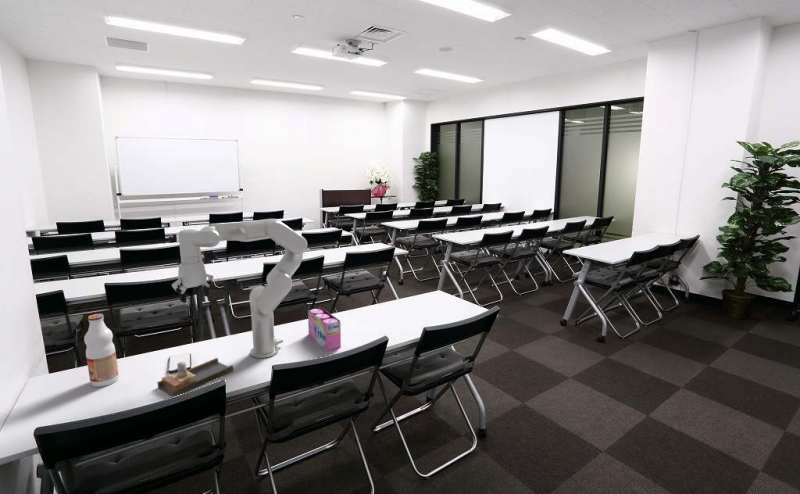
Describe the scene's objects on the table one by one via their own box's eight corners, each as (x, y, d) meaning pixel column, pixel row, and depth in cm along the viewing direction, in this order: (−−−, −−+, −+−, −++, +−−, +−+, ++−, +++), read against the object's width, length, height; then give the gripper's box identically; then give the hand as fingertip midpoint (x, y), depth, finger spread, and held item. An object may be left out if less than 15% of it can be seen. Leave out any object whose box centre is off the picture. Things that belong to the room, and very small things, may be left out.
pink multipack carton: (307, 333, 215) (306, 308, 213) (321, 330, 220) (320, 306, 217) (326, 351, 196) (325, 324, 193) (341, 347, 200) (341, 320, 198)
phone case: (169, 359, 187) (167, 375, 173) (169, 356, 187) (167, 371, 173) (191, 355, 191) (191, 370, 177) (190, 352, 191) (191, 367, 177)
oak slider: (185, 376, 169) (183, 358, 168) (196, 382, 165) (194, 363, 163) (170, 382, 165) (168, 363, 163) (181, 388, 160) (179, 369, 158)
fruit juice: (110, 387, 163) (101, 320, 157) (85, 388, 162) (74, 320, 156) (123, 375, 172) (115, 311, 166) (99, 375, 171) (90, 311, 165)
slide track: (217, 363, 183) (216, 354, 182) (233, 371, 176) (232, 362, 175) (158, 387, 163) (157, 378, 162) (173, 398, 156) (172, 388, 155)
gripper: (206, 254, 180) (209, 292, 184) (165, 262, 166) (169, 302, 170) (216, 257, 176) (219, 295, 180) (174, 265, 162) (179, 306, 166)
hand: (195, 299), depth 175 cm, fingers open, 9 cm apart
